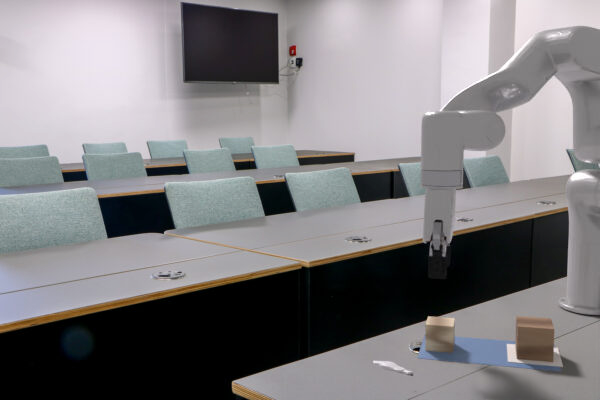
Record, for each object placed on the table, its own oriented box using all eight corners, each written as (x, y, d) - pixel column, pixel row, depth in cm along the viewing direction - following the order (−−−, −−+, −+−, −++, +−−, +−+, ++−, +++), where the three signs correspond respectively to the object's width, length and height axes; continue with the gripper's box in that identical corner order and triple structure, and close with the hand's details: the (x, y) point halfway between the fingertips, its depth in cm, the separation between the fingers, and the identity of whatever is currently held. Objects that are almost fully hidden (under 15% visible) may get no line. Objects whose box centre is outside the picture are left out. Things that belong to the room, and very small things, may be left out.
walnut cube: (553, 362, 109) (554, 329, 108) (516, 359, 111) (517, 326, 110) (549, 349, 115) (550, 318, 114) (515, 347, 117) (516, 316, 116)
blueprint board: (556, 349, 118) (556, 344, 118) (564, 377, 106) (564, 371, 105) (424, 338, 125) (424, 333, 125) (417, 363, 113) (417, 357, 113)
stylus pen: (417, 378, 106) (416, 367, 106) (407, 383, 105) (407, 372, 104) (352, 358, 118) (352, 349, 117) (342, 362, 116) (342, 352, 116)
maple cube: (454, 343, 119) (454, 318, 119) (452, 353, 115) (453, 326, 114) (427, 341, 121) (428, 316, 120) (425, 350, 116) (425, 324, 115)
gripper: (425, 175, 123) (423, 261, 125) (415, 183, 106) (413, 282, 108) (464, 176, 121) (462, 263, 123) (460, 184, 104) (457, 285, 106)
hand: (439, 272), depth 116 cm, fingers open, 9 cm apart
